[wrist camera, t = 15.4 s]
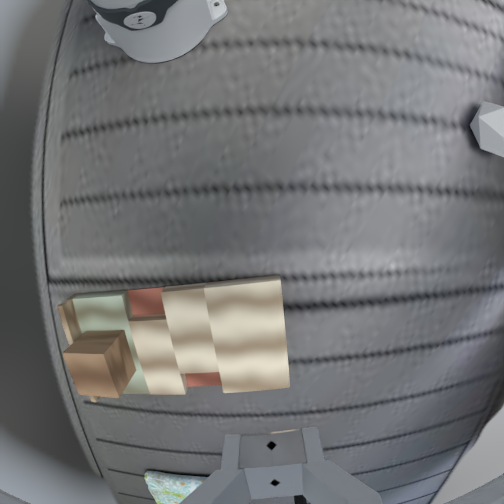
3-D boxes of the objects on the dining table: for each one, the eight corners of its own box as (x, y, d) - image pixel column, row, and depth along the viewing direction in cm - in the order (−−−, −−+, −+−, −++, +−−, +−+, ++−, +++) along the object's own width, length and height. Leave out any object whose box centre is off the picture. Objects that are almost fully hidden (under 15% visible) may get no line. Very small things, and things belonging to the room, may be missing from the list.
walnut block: (86, 330, 43) (62, 352, 36) (124, 329, 43) (103, 354, 35) (99, 369, 44) (79, 394, 37) (136, 370, 44) (119, 397, 37)
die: (467, 161, 40) (521, 172, 32) (459, 115, 34) (519, 124, 27) (477, 133, 41) (525, 142, 34) (469, 90, 36) (522, 97, 29)
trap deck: (75, 294, 44) (57, 306, 39) (279, 274, 43) (282, 287, 38) (103, 384, 48) (91, 401, 42) (288, 378, 46) (291, 399, 41)
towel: (169, 512, 57) (166, 526, 52) (146, 466, 53) (140, 482, 48) (240, 516, 56) (239, 532, 51) (230, 471, 52) (228, 490, 47)
